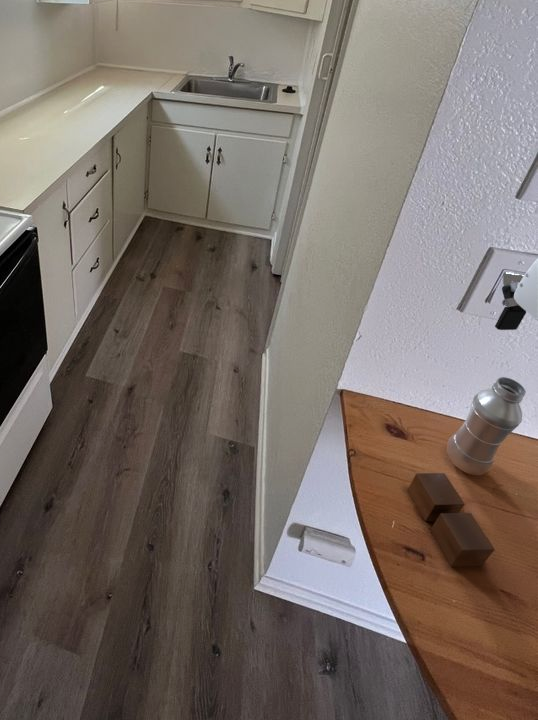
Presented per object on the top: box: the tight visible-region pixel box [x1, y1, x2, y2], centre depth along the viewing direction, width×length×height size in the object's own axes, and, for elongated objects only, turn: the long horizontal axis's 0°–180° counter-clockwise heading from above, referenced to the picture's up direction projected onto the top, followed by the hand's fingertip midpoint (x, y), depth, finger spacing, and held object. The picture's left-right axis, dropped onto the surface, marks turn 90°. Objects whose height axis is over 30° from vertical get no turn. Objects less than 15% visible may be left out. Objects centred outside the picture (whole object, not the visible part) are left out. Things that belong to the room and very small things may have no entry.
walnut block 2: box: [429, 512, 496, 567], centre depth 64 cm, size 5×5×5 cm
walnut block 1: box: [406, 472, 466, 522], centre depth 70 cm, size 5×5×5 cm
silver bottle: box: [446, 376, 526, 476], centre depth 73 cm, size 6×7×20 cm
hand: (531, 351), depth 64 cm, fingers open, 9 cm apart
